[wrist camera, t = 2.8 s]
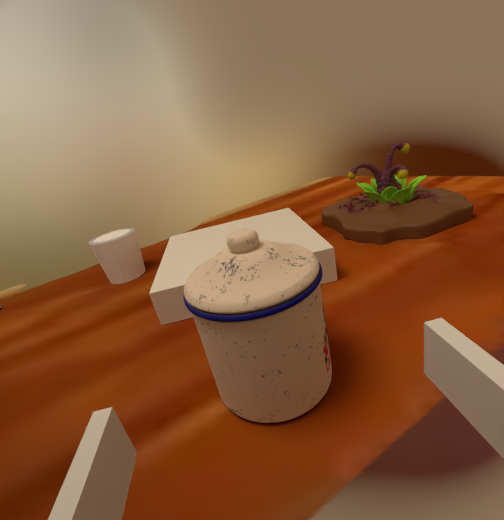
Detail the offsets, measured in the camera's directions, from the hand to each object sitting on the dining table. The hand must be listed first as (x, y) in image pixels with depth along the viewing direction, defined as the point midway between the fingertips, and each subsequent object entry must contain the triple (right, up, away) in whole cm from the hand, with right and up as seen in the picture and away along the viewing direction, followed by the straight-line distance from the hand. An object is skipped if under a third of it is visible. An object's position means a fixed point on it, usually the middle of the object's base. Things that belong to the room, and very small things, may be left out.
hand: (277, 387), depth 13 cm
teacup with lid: (0, -3, +12) cm, 12 cm away
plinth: (-3, +4, +30) cm, 31 cm away
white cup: (-21, +3, +37) cm, 43 cm away
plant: (+21, +12, +36) cm, 44 cm away
